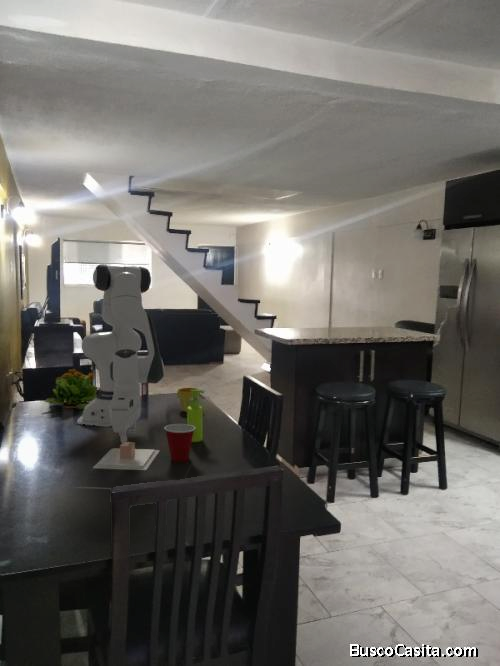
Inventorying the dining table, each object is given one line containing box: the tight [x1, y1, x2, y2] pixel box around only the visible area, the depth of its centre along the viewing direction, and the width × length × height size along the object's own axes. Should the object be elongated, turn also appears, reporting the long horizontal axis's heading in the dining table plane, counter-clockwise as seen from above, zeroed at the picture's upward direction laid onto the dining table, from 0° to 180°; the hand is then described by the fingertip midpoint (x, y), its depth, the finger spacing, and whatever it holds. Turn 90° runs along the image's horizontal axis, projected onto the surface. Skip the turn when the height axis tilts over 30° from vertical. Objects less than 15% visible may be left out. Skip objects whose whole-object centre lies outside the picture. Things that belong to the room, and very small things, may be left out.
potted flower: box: [43, 368, 99, 410], centre depth 239 cm, size 25×24×18 cm
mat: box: [92, 448, 160, 471], centre depth 173 cm, size 18×18×1 cm
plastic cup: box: [163, 423, 196, 463], centre depth 173 cm, size 11×11×12 cm
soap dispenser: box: [186, 388, 206, 443], centre depth 192 cm, size 6×7×20 cm
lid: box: [98, 441, 156, 468], centre depth 173 cm, size 15×15×5 cm
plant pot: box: [176, 387, 201, 413], centre depth 234 cm, size 10×10×10 cm
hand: (128, 437), depth 172 cm, fingers open, 8 cm apart
